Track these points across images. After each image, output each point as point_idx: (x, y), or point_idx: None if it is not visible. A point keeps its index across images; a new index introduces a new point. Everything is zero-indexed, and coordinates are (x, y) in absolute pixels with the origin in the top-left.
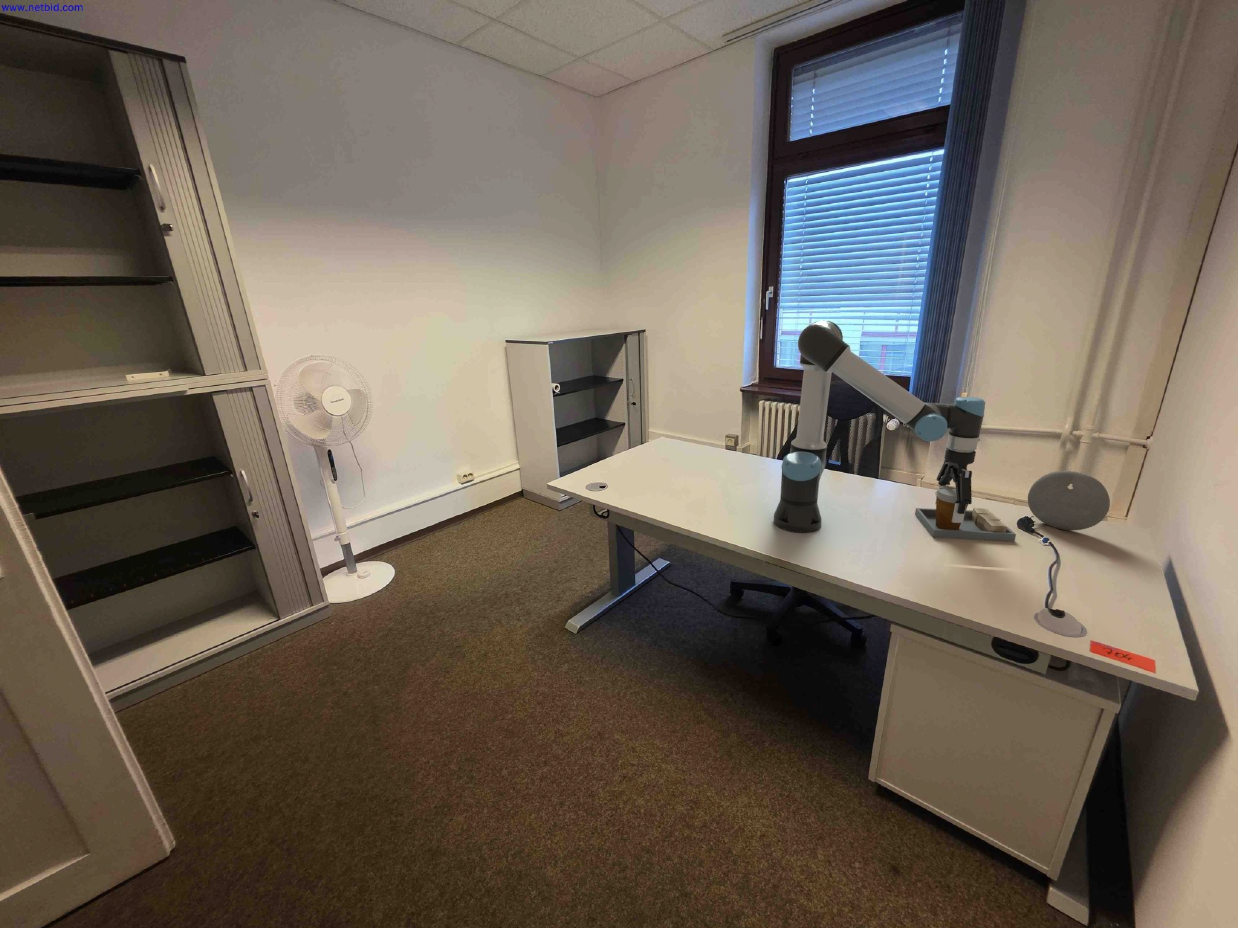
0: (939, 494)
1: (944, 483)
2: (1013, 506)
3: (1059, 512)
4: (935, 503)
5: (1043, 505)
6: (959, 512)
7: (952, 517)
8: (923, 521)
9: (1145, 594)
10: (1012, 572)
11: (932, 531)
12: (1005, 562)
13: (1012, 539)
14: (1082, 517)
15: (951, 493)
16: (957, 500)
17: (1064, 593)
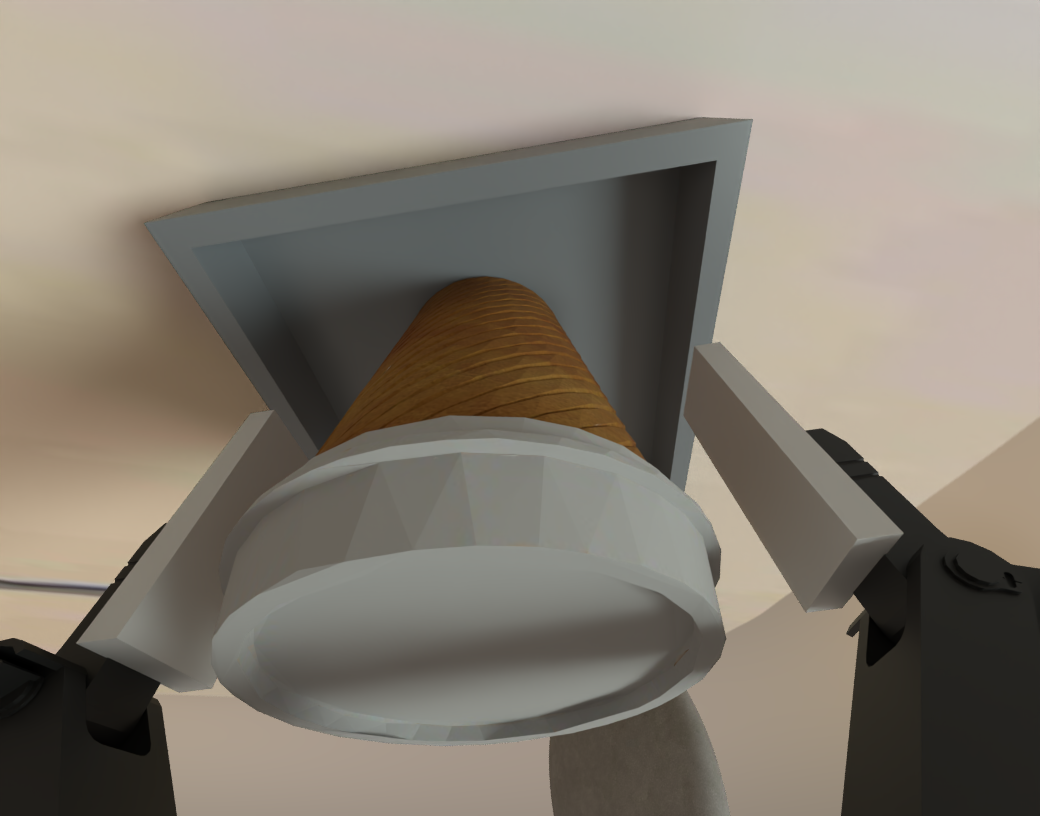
0: (331, 511)
1: (895, 619)
2: (788, 591)
3: None
4: (720, 343)
5: (618, 723)
6: (143, 545)
7: (254, 438)
8: (455, 164)
9: (217, 687)
10: (54, 518)
11: (192, 211)
12: (155, 513)
13: None
14: (554, 737)
15: (427, 645)
16: (57, 691)
17: (22, 601)
